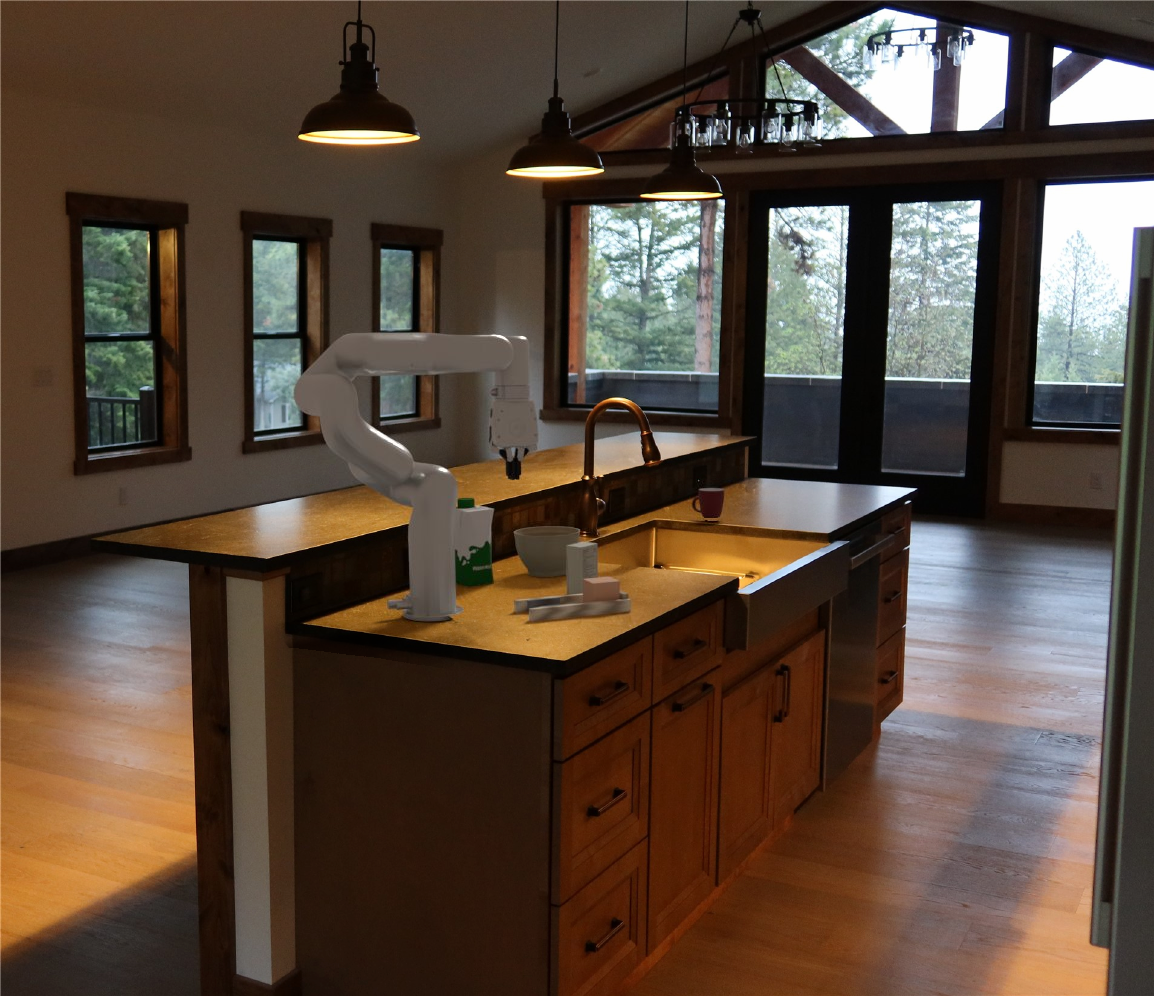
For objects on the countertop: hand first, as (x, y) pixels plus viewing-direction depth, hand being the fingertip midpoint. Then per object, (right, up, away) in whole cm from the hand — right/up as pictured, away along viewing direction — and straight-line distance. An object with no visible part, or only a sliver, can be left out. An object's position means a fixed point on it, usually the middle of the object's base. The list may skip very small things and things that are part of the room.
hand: (513, 479), depth 262 cm
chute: (+13, -29, -11) cm, 33 cm away
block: (+19, -27, -8) cm, 34 cm away
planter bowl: (+6, -23, +35) cm, 42 cm away
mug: (+55, -12, +121) cm, 133 cm away
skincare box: (+15, -26, +7) cm, 31 cm away
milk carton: (-11, -25, +25) cm, 36 cm away
